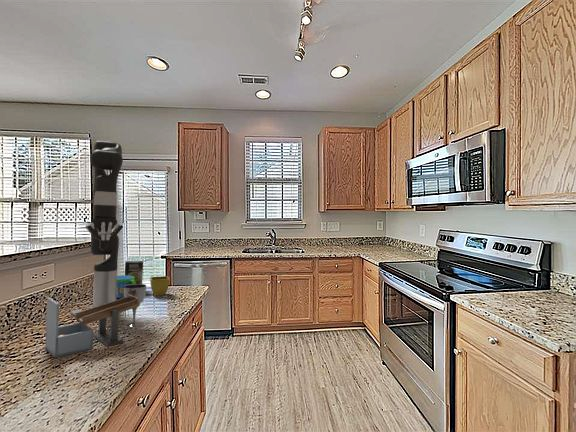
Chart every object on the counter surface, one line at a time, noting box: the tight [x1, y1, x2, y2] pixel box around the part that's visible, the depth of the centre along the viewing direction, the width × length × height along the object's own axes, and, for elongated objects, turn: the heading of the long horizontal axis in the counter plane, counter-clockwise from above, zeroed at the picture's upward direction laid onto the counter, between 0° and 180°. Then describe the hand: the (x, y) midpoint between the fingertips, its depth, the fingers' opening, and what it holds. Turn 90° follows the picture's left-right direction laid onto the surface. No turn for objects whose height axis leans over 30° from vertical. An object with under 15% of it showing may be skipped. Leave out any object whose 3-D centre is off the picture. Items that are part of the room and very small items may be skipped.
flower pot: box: [149, 275, 170, 297], centre depth 177 cm, size 9×9×9 cm
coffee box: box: [124, 260, 144, 284], centre depth 184 cm, size 9×6×16 cm
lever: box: [69, 295, 141, 325], centre depth 117 cm, size 14×18×3 cm
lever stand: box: [93, 303, 125, 347], centre depth 115 cm, size 13×5×11 cm, turn 49°
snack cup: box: [116, 274, 136, 299], centre depth 170 cm, size 16×10×10 cm
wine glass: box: [123, 283, 147, 329], centre depth 130 cm, size 8×8×15 cm
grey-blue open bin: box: [44, 297, 94, 359], centre depth 106 cm, size 10×10×16 cm
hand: (103, 250), depth 126 cm, fingers closed
